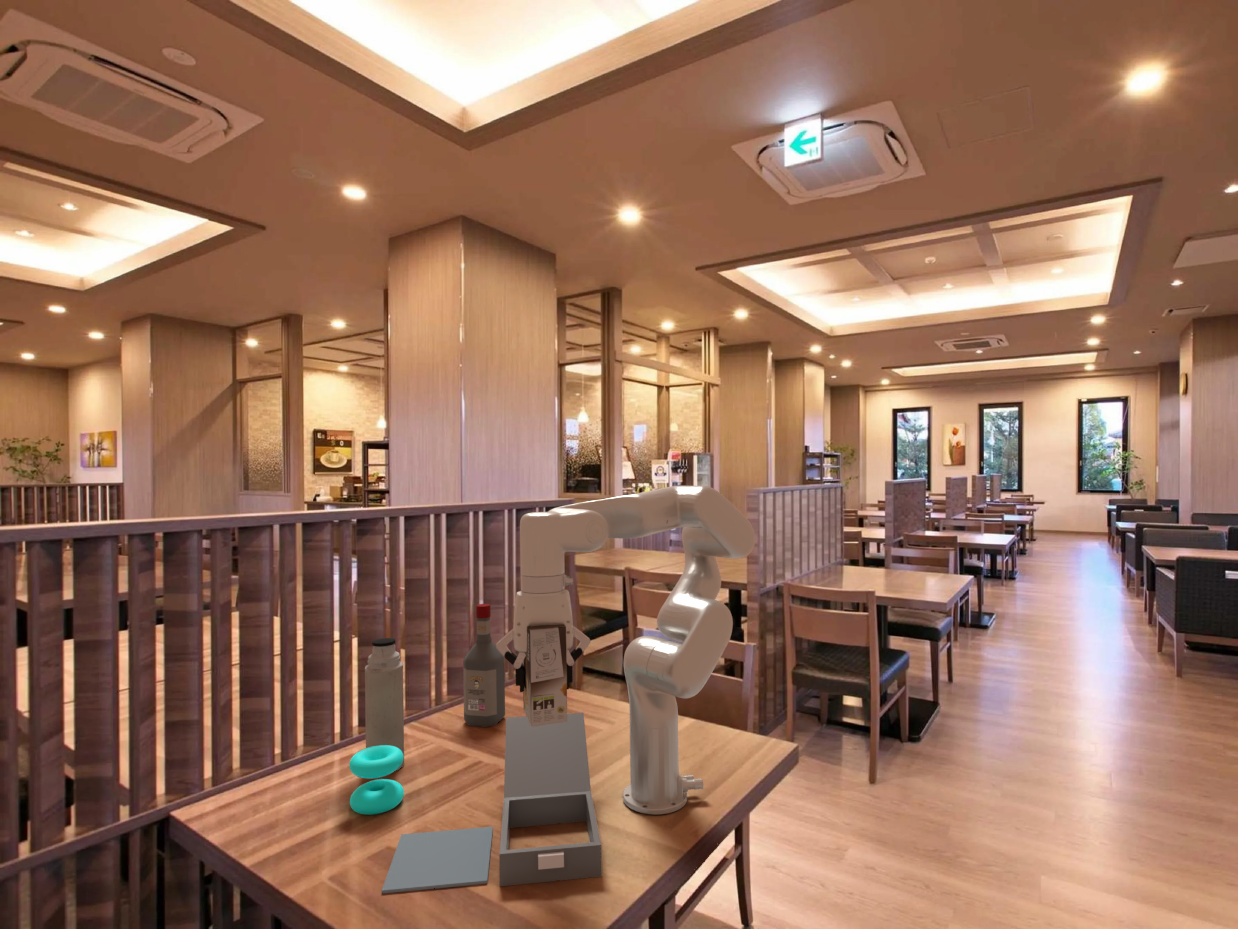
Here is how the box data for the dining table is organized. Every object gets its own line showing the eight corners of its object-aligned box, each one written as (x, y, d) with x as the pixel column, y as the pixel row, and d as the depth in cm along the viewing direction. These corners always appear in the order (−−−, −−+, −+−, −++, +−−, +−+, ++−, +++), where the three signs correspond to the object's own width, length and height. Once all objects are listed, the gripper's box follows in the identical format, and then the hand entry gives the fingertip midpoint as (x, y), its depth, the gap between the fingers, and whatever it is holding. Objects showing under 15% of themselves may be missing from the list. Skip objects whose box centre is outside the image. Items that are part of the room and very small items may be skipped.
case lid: (590, 791, 124) (590, 794, 124) (583, 712, 139) (583, 715, 140) (503, 798, 122) (504, 801, 122) (506, 717, 137) (506, 720, 138)
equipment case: (591, 818, 124) (590, 791, 124) (602, 879, 105) (601, 847, 105) (504, 825, 122) (503, 798, 122) (499, 889, 103) (499, 857, 103)
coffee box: (569, 722, 111) (567, 626, 111) (530, 727, 109) (529, 629, 109) (557, 704, 119) (555, 614, 119) (521, 708, 117) (520, 617, 117)
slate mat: (492, 829, 120) (492, 826, 120) (487, 883, 105) (487, 880, 105) (401, 837, 118) (401, 834, 118) (381, 893, 102) (381, 890, 102)
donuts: (337, 761, 127) (370, 740, 136) (338, 814, 127) (371, 789, 136) (383, 767, 124) (413, 745, 134) (383, 820, 124) (414, 795, 134)
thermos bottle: (373, 759, 151) (371, 635, 151) (408, 758, 151) (407, 634, 151) (360, 775, 143) (359, 644, 143) (398, 774, 143) (396, 644, 143)
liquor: (493, 728, 168) (492, 609, 168) (460, 725, 170) (459, 608, 170) (508, 715, 177) (506, 602, 177) (476, 713, 179) (474, 601, 179)
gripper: (591, 579, 119) (592, 678, 119) (492, 582, 117) (493, 684, 116) (595, 586, 112) (596, 692, 111) (490, 590, 109) (491, 699, 109)
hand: (544, 687), depth 114 cm, fingers closed on coffee box, 7 cm apart
